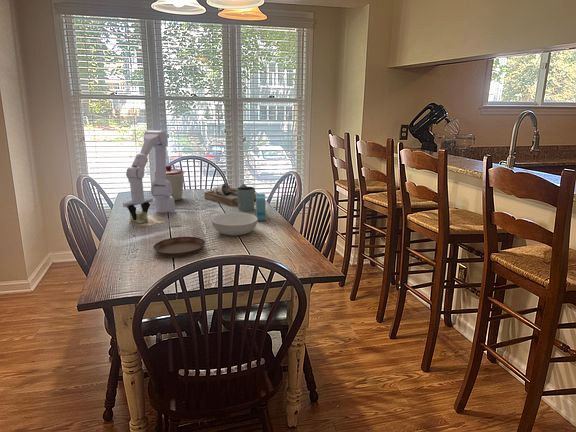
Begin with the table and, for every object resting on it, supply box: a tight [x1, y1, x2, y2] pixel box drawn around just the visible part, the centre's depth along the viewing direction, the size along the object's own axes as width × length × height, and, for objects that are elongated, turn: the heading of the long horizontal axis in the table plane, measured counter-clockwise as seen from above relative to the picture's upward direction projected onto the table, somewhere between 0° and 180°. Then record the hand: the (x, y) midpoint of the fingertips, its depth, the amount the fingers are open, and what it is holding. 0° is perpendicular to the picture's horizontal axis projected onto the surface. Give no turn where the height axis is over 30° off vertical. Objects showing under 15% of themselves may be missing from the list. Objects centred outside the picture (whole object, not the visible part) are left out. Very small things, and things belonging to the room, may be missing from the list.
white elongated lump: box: [212, 183, 249, 197], centre depth 263 cm, size 25×10×10 cm, turn 78°
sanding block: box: [129, 209, 148, 225], centre depth 213 cm, size 4×9×5 cm, turn 46°
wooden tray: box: [203, 187, 257, 207], centre depth 264 cm, size 19×27×4 cm
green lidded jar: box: [236, 186, 256, 212], centre depth 240 cm, size 10×10×12 cm
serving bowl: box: [211, 212, 258, 236], centre depth 200 cm, size 21×21×7 cm
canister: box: [153, 164, 185, 202], centre depth 262 cm, size 18×18×21 cm
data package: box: [255, 193, 267, 222], centre depth 222 cm, size 12×4×12 cm, turn 4°
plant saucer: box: [153, 236, 206, 259], centre depth 178 cm, size 21×21×3 cm
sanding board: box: [125, 213, 170, 228], centre depth 216 cm, size 15×17×2 cm
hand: (139, 218), depth 213 cm, fingers open, 5 cm apart
